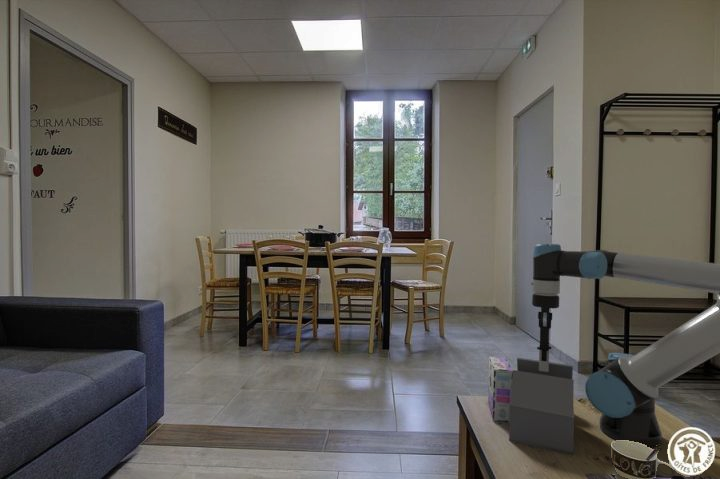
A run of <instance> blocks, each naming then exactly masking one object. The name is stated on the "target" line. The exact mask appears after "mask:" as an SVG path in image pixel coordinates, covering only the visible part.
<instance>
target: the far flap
mask: <svg viewBox="0 0 720 479" xmlns="http://www.w3.org/2000/svg"><path fill="white" fill-rule="evenodd" d="M516 365H517V367H516V368H517V370H516V371H522V372H529V373H535V374H541V375H548V376H554V377H560V378H566V379H573V373H574V372H573V371H574V369H573V368H574V367H573V366H574V365H572V364H565V363H560V362H559V363H558V362H550V361H549V372H545V371H539V359H530V358H523V357H516Z"/></svg>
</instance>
